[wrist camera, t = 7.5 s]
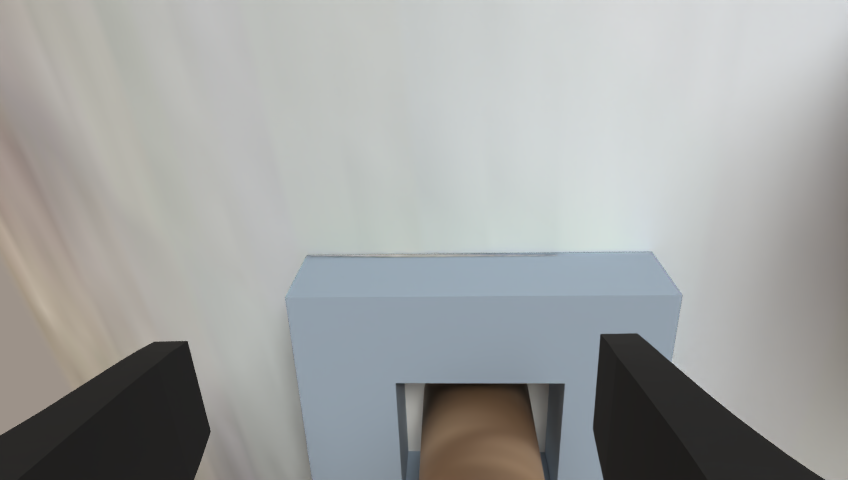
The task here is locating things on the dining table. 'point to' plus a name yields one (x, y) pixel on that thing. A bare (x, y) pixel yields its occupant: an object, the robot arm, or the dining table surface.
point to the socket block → (462, 346)
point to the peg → (478, 433)
